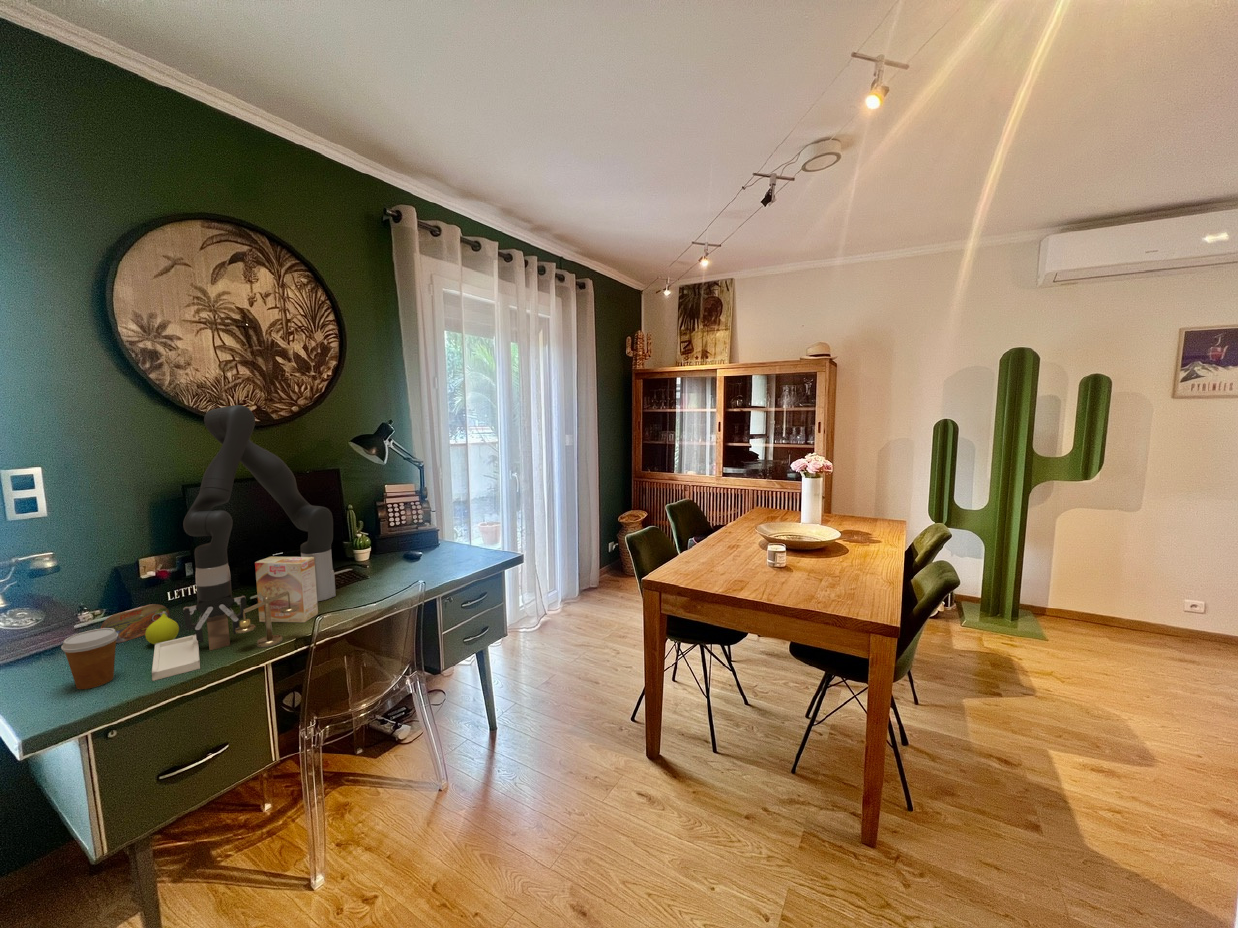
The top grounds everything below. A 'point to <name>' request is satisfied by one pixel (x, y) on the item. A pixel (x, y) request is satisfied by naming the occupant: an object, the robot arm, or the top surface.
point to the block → (218, 632)
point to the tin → (134, 621)
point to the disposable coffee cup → (91, 657)
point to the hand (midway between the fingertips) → (218, 636)
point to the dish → (175, 657)
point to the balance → (266, 621)
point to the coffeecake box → (287, 587)
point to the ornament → (162, 630)
